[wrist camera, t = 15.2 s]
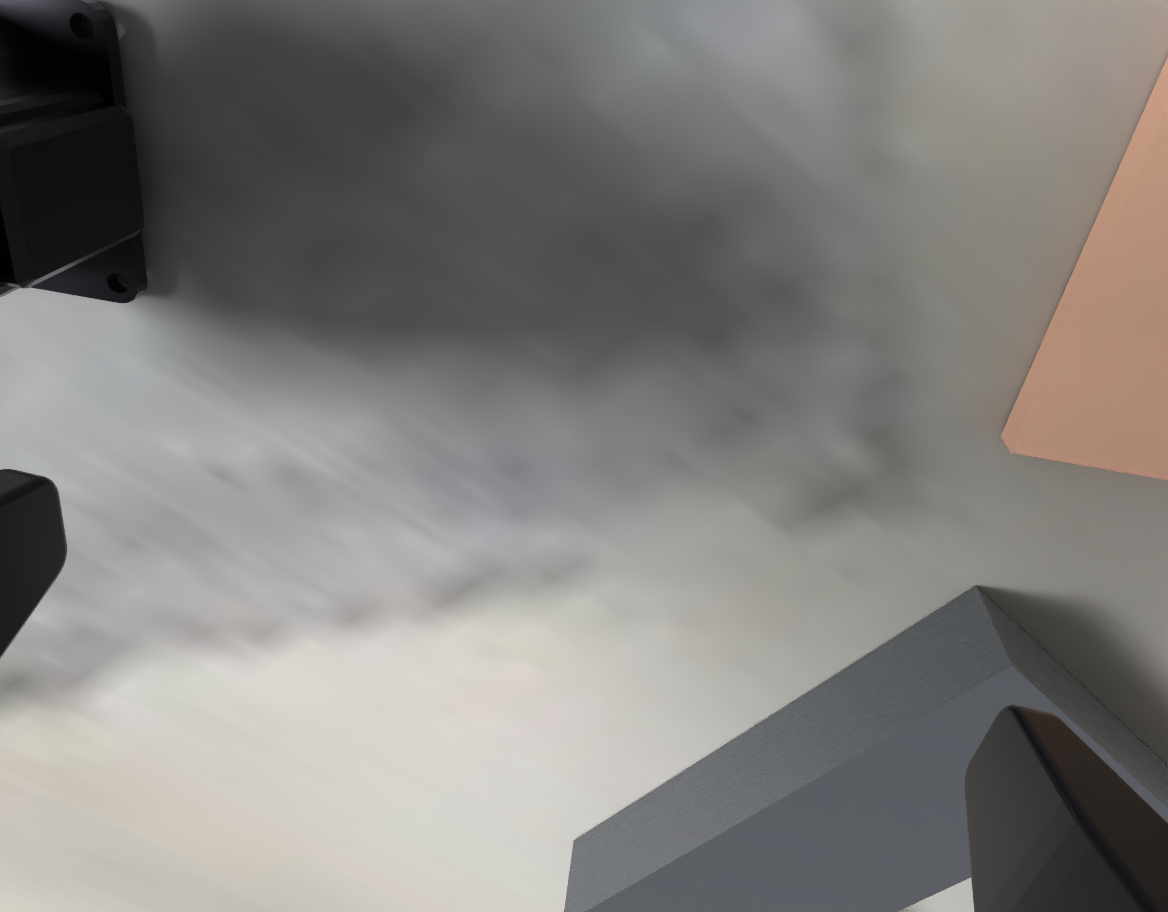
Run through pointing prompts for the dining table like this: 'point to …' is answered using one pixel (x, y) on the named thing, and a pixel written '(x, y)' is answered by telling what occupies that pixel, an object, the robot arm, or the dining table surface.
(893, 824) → the socket plate
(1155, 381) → the terracotta pad
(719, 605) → the dining table surface
